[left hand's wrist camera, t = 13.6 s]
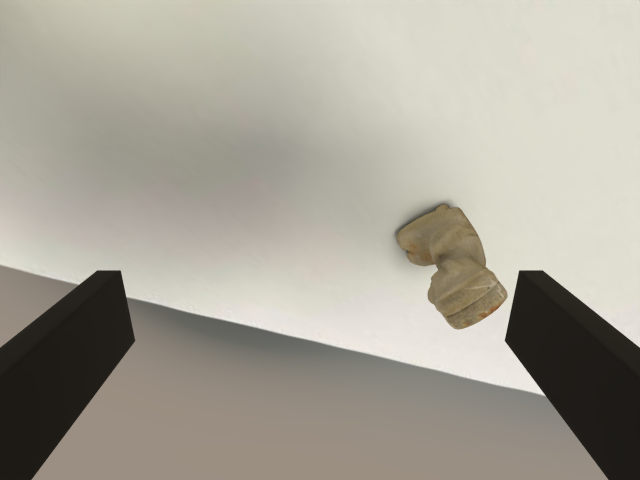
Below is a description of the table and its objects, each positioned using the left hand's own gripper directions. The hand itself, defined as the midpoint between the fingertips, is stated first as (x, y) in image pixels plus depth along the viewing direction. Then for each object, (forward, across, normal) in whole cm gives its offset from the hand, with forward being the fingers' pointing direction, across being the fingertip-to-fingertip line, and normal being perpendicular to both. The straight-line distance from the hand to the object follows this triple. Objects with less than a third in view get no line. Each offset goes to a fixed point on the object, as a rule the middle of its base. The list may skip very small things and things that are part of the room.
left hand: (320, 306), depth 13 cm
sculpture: (+29, -12, +7) cm, 32 cm away
